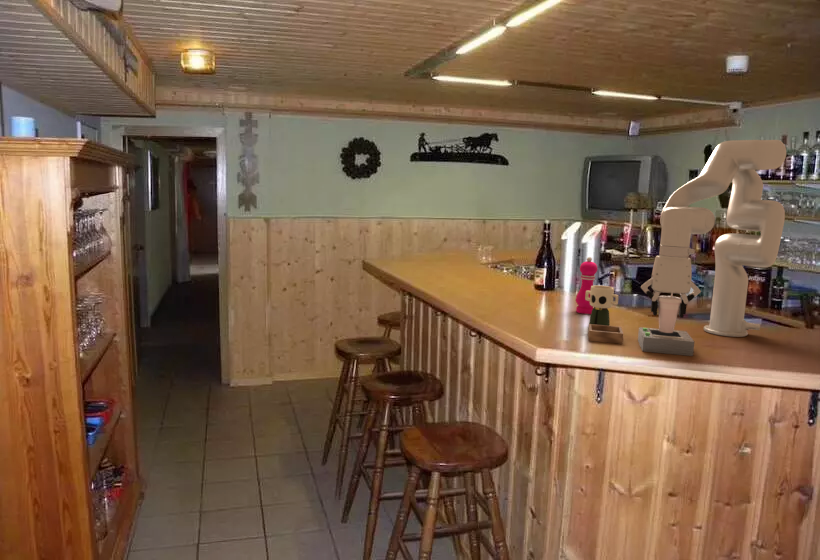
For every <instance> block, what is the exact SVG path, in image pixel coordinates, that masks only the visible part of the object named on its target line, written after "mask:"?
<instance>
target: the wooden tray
mask: <svg viewBox="0 0 820 560" xmlns="http://www.w3.org/2000/svg"><path fill="white" fill-rule="evenodd" d="M587 328H588V329H587V330H588V331H587V337H588V341H589V342H600V343H611V344H621V345H622V344H623V342H624V332H623V328H622V326H616V325H615V326H614V325H609V326H606V325H595V324H589V323H588V327H587Z"/></svg>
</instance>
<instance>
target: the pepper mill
mask: <svg viewBox="0 0 820 560" xmlns="http://www.w3.org/2000/svg"><path fill="white" fill-rule="evenodd" d="M579 271H580V273H581V274H580V279H581V284H580V288H579V291H578V292H577V293H576V297H575V303H576V305H578V306H576V309H575V310H576V311H575V312H576V313H579V314H582V315H583V314H584V315H591V313H592V310H593V308H594V307H593V306H591V305H590V301H587V300H586V299H585V296H586V291H591V286H594V281H595V280H596V275H595V274H597V272H598V265H597V263H595V262H594V261H593V257H591V256H588V257H587V258H586V261H584V262H581V264H580V266H579ZM588 298H590V294H589V295H588Z"/></svg>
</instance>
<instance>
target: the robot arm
mask: <svg viewBox="0 0 820 560" xmlns="http://www.w3.org/2000/svg"><path fill="white" fill-rule="evenodd" d="M786 157H787V148H786V145H785V143H783V141H781V140H779V139H741V140H740V139H739V140H738V139H737V140H736V139H735V140H732V139H731V140H725V141H722V142H719V144H717V146H716V147H715V148H714V150H713V151H712V153H711V155H710V156H709V158H708V160H707V162H706V163H705V165H704V167H703V169H702V170H701V172H700V174H699V175H698V176H697V177H694V178H693V179H691V180H689V181H687V183H685V184H683V185H682V186H681V187H679V188H678V189H676V190H675V191H674V192H672V194H671V195H670V196H669V198H668V200H667V201H666V203H665V205H664V207H663V208H662V211H661V214H660V217H659V219H660V220H659V222H660V226H661V232H660V243H659V254H658V255H655V258H654V263H653V267H652V272H651V278H650V279H648V280H646V281H645V282H644V283H643V284H641V286H640V289H641V290H642V291H643V293H644V294H646V295H647V297H648V298H650V300H651V304H650V306H651V307H650V313H652V315H653V316H657V315H658V309H659V302H658V300H657V299H658V296H660V294H661V293H662V294H663V293H664V294H665V293H667V294H671V293H673V294H677V295H680V298H681V299H682V303H680V307H679V311H678V316H679V318H682V319H683V318H684V315H686V314H687V306H688V304H689V302H691V301H692V300H693V299H695V297H697V296H698V295H699V294H701V292H702V291H701V289H700V288H699V287H698V286H697V285H696V284H695V283H694V282H693V281H692V275H693V274H692V271H693V270H692V258H690V255H694V254H695V253H696V252H695V251H696V250H695V249H693V248H691V247H690V245H691V244H690V243H691V235H704V234H707V233H709V232H711V230H712V229H713V227H714V226H715V223H716V219H715V215H714V212H713V211H711V210H710V209H709V208H706V207H700V206H699V207H698V206H690V205H692V204H695V203H697V202H700V201H704V200H707V199H711V198H714V197H716V196H719V195H722V194H723V193H725V192H726V191H727V190H728V188H729V186H730V185H731V184H732V186H731V193H730V196H729V197H730V198H729V200H728V207H727V211H726V224H727V226H728V227H729V228H730V229H733V230H741V231H751V232H752V231H753V232H760V235H758V234H757V235H755V234H746V233H735V232H734V233H733V232H732V233H725V234H722V235H720V236H719V237H718V238H716V239H715V243H714V258H715V259H714V260H715V268H714V270H715V272H714V282H713V288H712V290H713V291H712V299H711V307H710V317H709V324H706V325H704V326H703V330H704V332H707V333H708V334H711V335H716V336H724V337H733V338H736V337H737V338H739V337H740V338H741V337H743V338H744V337H746V336H748V334H749V333H748V331H749V330H753V331H754V330H755V331H760V329H761V324H760V323H754V322H747V321H746V320H745V311H746V305H747V295H748V287H749V286H748V285H749V275H748V273H747V271H746V269H745V268H744V266H746V267H756V268H770V267H771V266H773V265H774V264H775V262H776V260H777V258H778V253H779V249H780V244H781V239H782V235H783V230H784V225H785V218H786V213H785V208H784V206H783V204H782V203H781V202H779V201H776V200H771V199H770V200H767V199H766V200H765V199H764V200H763V199H762V195H763V190H764V183H763V180H762V178H761V176H760V175H759V174H758V172H757V171H764V170H765V171H767V170H776V169H778V168H780V167H781V166H782V165H783V164H784V162H785V160H786ZM648 287H650V288H651V289H652V290H653V292H651V291H650V289H648ZM691 289H692V292H691ZM687 294H688V295H687Z"/></svg>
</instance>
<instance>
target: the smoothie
mask: <svg viewBox="0 0 820 560" xmlns="http://www.w3.org/2000/svg"><path fill="white" fill-rule="evenodd" d="M657 302H658V329H659V331H661V332H665V333H673V331H674V330H675V327H676V322H677V318H678V316H679V307H680V303H682V299H681V297H678V296H674V293H670V295H659V296H658V298H657Z"/></svg>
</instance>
